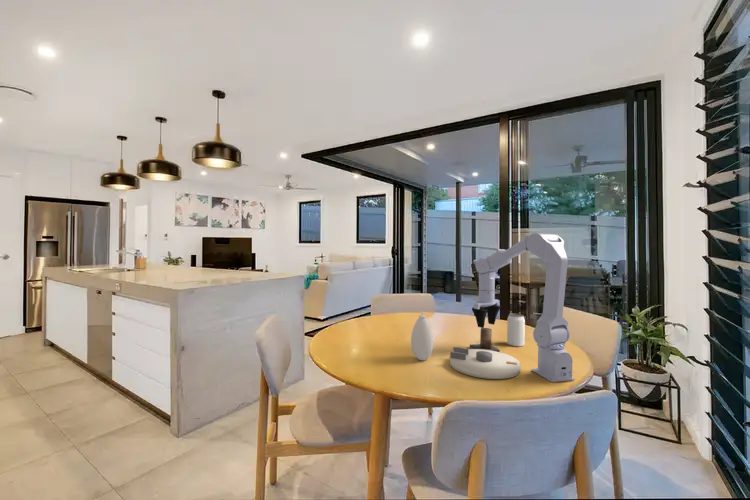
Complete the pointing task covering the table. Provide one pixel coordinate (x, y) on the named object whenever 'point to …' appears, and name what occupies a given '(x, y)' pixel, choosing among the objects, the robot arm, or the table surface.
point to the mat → (477, 346)
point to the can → (516, 330)
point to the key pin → (485, 338)
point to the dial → (484, 363)
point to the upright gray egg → (422, 338)
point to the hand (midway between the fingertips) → (486, 325)
